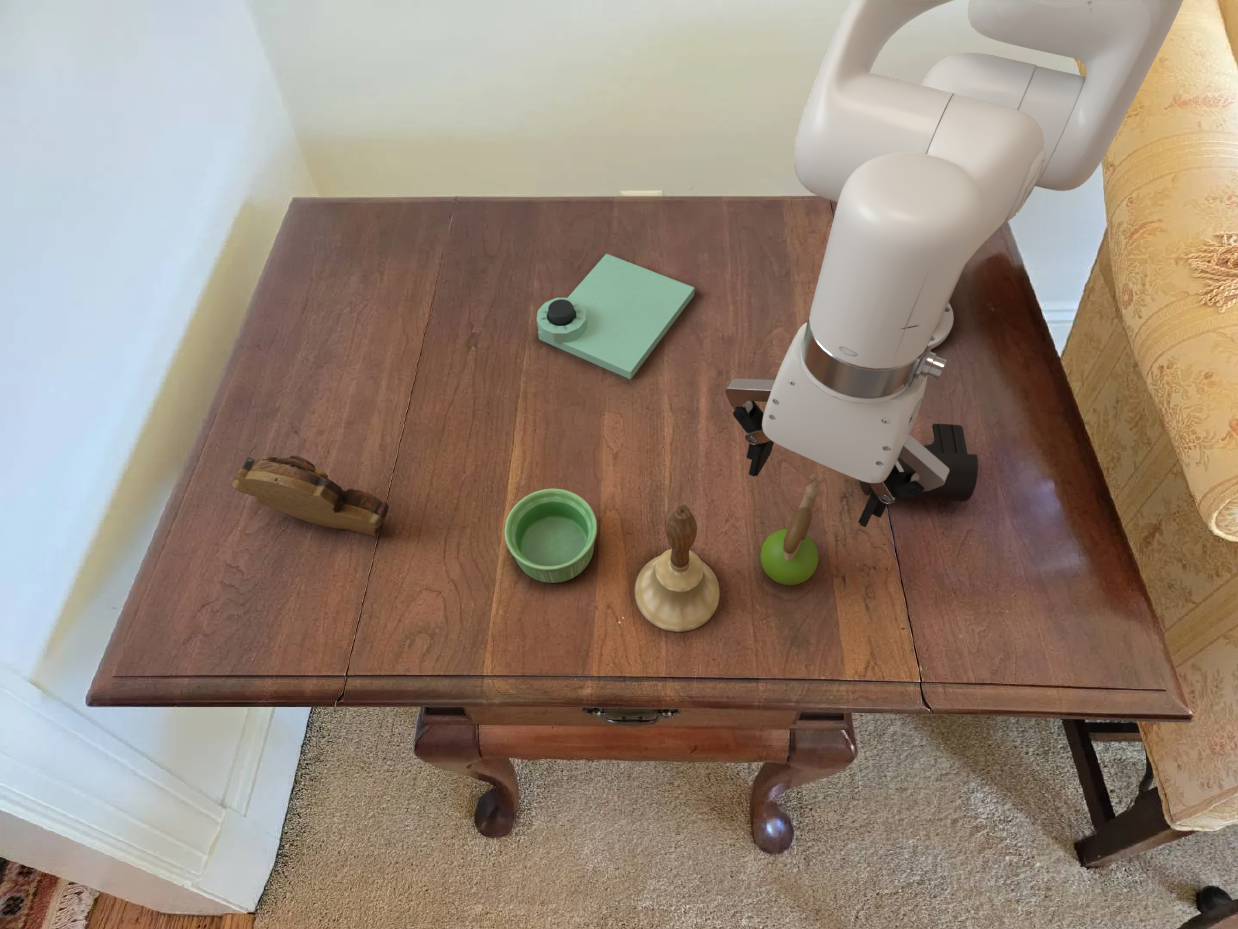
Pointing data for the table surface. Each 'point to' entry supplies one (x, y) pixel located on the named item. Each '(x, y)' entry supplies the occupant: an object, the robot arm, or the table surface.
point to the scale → (617, 315)
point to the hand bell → (678, 581)
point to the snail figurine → (793, 544)
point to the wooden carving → (309, 494)
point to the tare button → (561, 312)
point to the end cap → (955, 457)
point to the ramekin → (551, 534)
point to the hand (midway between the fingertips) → (812, 487)
